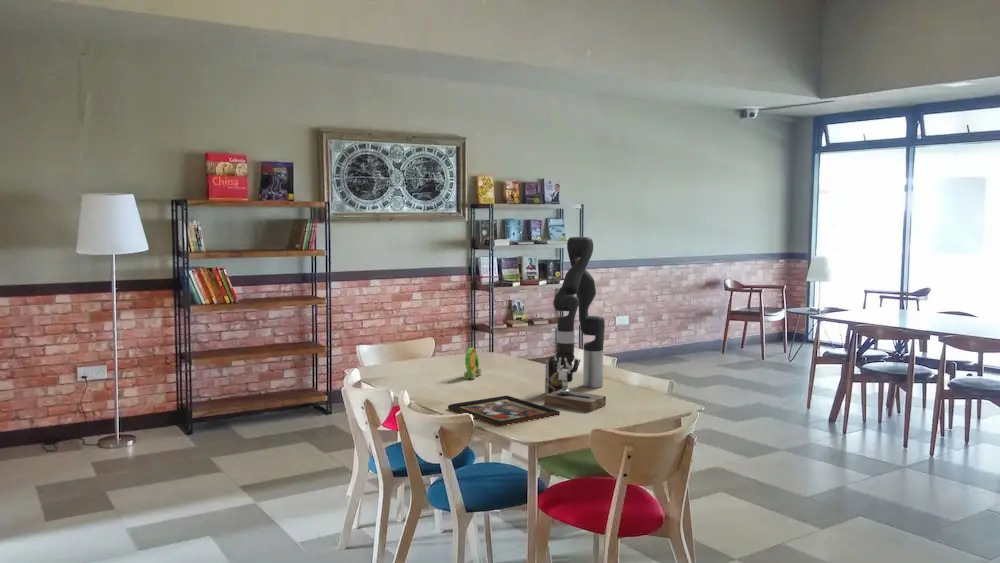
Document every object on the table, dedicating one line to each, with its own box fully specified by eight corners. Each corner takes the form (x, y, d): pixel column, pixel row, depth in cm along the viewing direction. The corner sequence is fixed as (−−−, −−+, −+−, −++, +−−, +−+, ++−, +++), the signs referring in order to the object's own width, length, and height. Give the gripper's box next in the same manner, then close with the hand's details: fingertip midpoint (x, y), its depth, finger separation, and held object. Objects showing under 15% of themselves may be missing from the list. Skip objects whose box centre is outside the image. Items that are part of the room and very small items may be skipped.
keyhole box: (560, 398, 356) (560, 389, 356) (605, 405, 344) (605, 396, 344) (544, 404, 345) (544, 395, 344) (590, 411, 332) (590, 402, 332)
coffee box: (548, 396, 361) (548, 360, 360) (544, 393, 368) (545, 357, 366) (568, 395, 363) (568, 359, 362) (564, 392, 369) (564, 357, 368)
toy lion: (471, 374, 410) (472, 344, 409) (482, 375, 409) (482, 345, 408) (461, 380, 395) (462, 349, 394) (472, 381, 394) (472, 350, 392)
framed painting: (439, 411, 332) (440, 404, 332) (501, 399, 357) (501, 393, 357) (505, 430, 305) (505, 423, 305) (566, 416, 330) (566, 409, 330)
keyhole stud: (562, 390, 350) (563, 368, 349) (571, 391, 347) (572, 369, 346) (557, 392, 346) (557, 370, 345) (566, 393, 343) (567, 371, 343)
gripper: (584, 341, 344) (583, 381, 345) (555, 338, 352) (554, 378, 353) (576, 343, 338) (575, 384, 339) (546, 340, 346) (545, 380, 347)
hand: (564, 381), depth 346 cm, fingers closed on keyhole stud, 4 cm apart
